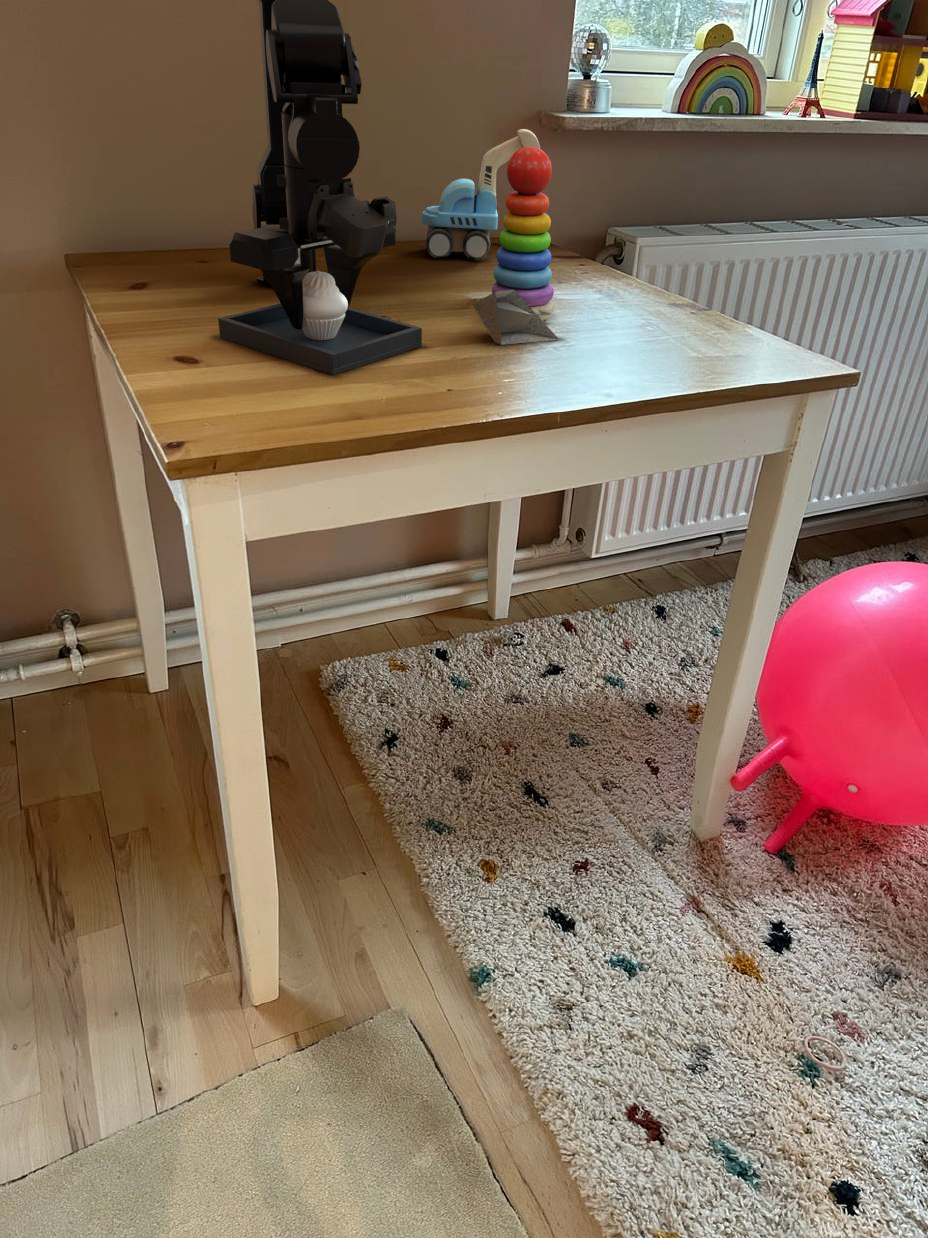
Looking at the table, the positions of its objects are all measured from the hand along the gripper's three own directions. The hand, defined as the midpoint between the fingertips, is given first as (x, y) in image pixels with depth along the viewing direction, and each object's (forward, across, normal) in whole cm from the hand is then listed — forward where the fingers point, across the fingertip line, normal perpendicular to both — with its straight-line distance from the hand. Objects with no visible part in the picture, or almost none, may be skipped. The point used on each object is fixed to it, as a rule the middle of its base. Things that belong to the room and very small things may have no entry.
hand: (319, 322), depth 103 cm
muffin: (+2, 0, 0) cm, 2 cm away
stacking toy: (+2, +25, -9) cm, 27 cm away
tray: (+2, 0, 0) cm, 2 cm away
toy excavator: (+2, +47, +15) cm, 49 cm away
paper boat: (+2, +15, -15) cm, 21 cm away
